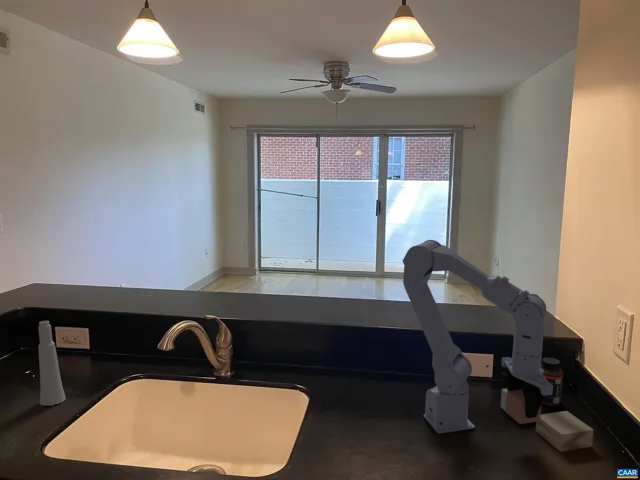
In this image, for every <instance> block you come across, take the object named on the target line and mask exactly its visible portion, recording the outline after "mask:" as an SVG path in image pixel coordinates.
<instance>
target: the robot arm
mask: <svg viewBox="0 0 640 480" xmlns="http://www.w3.org/2000/svg"><path fill="white" fill-rule="evenodd" d="M402 263H403V266H404V267H403V276H402V277H403V279H402V280H403V281H402V284H403V287H404V290H405V293H406V294H407V297H408V298H409V301H410V304H411V306H412V307H413V311H414V313H415V314H416V318H417V319H418V322H419V324H420V327H421V329H422V331H423V333H424V336H425V339H426V341H427V343H428V345H429V347H430V350H431V352H432V362H431V366H432V369H433V372H434V382H435V384H436V386H434V387H432V388H429V389H427V390H426V393H425V409H424V414H423V417H424V419H425V420H426V421H427V422H428V424H429V425H430V426H431V427H432V428H433V430H434V431H435V432H436V433H437V434H445V433H453V432H461V431H465V430H466V431H467V430H474V429H476V426H475V425H474V424H473V423H472V422H471V421H470V420H469V419H468V417H469V416H468V412H469V397H470V396H469V394H470V391H469V390H470V386H469V383H468V380H467V379H468V378H469V377H470V376H471V375H472V371H473V366H472V363H471V361H470V360H469V359H468V357H466V356H465V355H464V354H463V352H462V350H461V348H460V347H458V346H457V345H456V344H454V342H453V339H452V337H451V335H450V333H449V329H448V327H447V325H446V323H445V321H444V319H443V316H442V314H441V312H440V309H439V307H438V305H437V302H436V300H435V298H434V296H433V293H432V291H431V289H430V286H429V285H428V282H429V280H430V278H431V276H432V274H433V272H445V271H446V272H449V273H453V274H454V275H456V276H458V277H459V278H461V279H463V280H464V281H466V282H468V283H469V284H472V285H473V286H475V287H477V288H478V289H480V291H481V294H482V297H483V298H484V299H486V300H487V301H489V302H491V303H492V304H494V305H495V306H496V307H498V308H500V309H501V310H503V311H504V312H505V313H507V314H509V315H512V318H513V320H514V322H515V325H514V326H515V328H514V330H513V343H512V357H509V356H508V357H507V356H506V357H501V367H503V368H507V369H506V371H502V372H501V373H500V375H501V377H502V379H503V382H504V383H505V387H506V389H507V390H508V391H513V390H520V389H522V391H523V394H524V398H525V413H526V417H527V418H534V417H536V416H537V414H538V411H539V409H540V406H541V407H542V405H543V404H542V403H543V401H544V400H545V398H546V397H547V396H548V395H552V391H553V386H552V385H551V384H550V383H549V382H548V381H547V380H546V378H545V377H544V376H543V374H544V370H542V369H541V365H542V359H543V358H542V357H543V355H542V354H543V342H544V319H545V317H546V314H547V303H546V301H544V300H543V298H541V297H540V296H539V295H538V294H537V293H530V291H528V290H526V289H525V290H523V289H521V288H519V287H518V286H516V285H514V284H513V283H511V282H509V281H510V279H509V278H508V277H506V276H503V277H501V276H500V275H494V276H493V275H492V276H490V275H488V274H486V273H485V272H484V271H482V270H480V269H479V268H478V267H477V266H475V265H473V264H472V263H470V262H469V261H468V260H466V259H465V258H463V257H461V256H460V255H459V254H457V253H456V252H454V250H452V249H451V248H450V247H448V246H446V245H443V244H441V243H440V242H439V241H437V240H436V239H435V240H434V239H426V240H424V241H423V242H421V243H419V244H416V245H413V246H411V247H410V248H409V249H407V251H406V254H405V255H404V257H403V259H402ZM525 382H526V383H529V384H530V385H528V386H527V385H526V386H525Z"/></svg>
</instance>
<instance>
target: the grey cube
mask: <svg viewBox="0 0 640 480" xmlns="http://www.w3.org/2000/svg"><path fill="white" fill-rule="evenodd" d="M507 391H508V390H507V388H502V389H501V391H500V392H501V395H500V408H501V409H502V410H503V411H504V412H506V399H507Z"/></svg>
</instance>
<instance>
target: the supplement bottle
mask: <svg viewBox="0 0 640 480" xmlns="http://www.w3.org/2000/svg"><path fill="white" fill-rule="evenodd" d="M541 369H542V370H544V374H543V376H544V377H545V378H546V380H547V381H548V382H549V383H550V384H551V385H552V386H553V391H552V395H548V396H547V397H546V398H545V400H544V401H543V403H542V404H541V405H544V406H547V407H558V406H559V405H561V404H562V396H563V385H564V384H563V383H564V371H563V369H562V368H561V362H560V360H559V359H556V358H553V357H544V358H542V361H541Z"/></svg>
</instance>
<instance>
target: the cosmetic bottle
mask: <svg viewBox="0 0 640 480" xmlns="http://www.w3.org/2000/svg"><path fill="white" fill-rule="evenodd" d="M38 337H39V344H38V360H39V361H38V362H39V379H40V381H39V382H40V394H39V395H40V396H39V405H40V404H41V405H55V404H59V403H61V402H62V403H64V402H65V401H64V400H66V398H67V397H66V394H65V391H64V388H63V384H62V379H61V373H60V367H59V362H58V355H57V349H56V345H55V344H56V343H55V342H54V341H53V334H52V325H51V324H50V321H49V320H42V321H39V323H38ZM63 401H64V402H63ZM62 403H61V404H62ZM41 405H40V406H41ZM59 405H60V404H59Z"/></svg>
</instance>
